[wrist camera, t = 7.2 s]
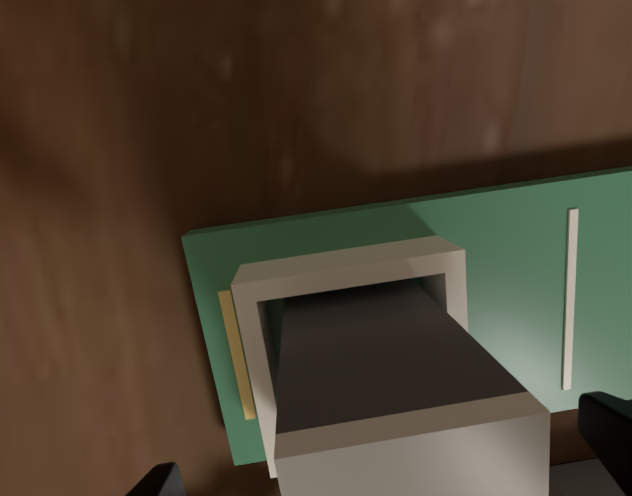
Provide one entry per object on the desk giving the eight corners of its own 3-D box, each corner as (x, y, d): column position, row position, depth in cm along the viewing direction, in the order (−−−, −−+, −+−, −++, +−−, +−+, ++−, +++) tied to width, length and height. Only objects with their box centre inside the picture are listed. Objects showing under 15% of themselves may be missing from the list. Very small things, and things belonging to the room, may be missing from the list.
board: (730, 151, 13) (867, 147, 10) (700, 365, 15) (804, 416, 12) (191, 229, 12) (158, 252, 9) (239, 441, 15) (224, 516, 12)
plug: (405, 272, 12) (550, 411, 5) (414, 379, 13) (546, 611, 6) (284, 291, 12) (273, 459, 5) (302, 398, 13) (314, 654, 6)
